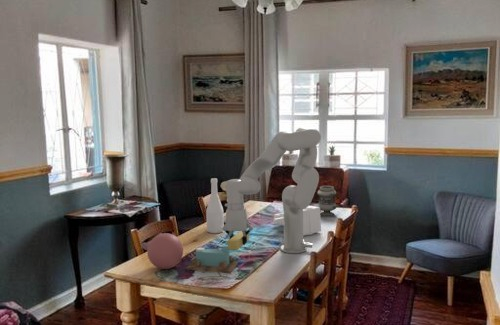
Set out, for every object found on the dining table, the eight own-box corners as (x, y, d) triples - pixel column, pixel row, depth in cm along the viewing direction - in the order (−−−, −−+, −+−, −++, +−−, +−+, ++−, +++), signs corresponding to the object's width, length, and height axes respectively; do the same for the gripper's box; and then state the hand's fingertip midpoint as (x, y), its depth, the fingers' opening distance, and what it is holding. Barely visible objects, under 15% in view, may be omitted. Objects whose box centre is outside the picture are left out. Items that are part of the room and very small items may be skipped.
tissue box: (295, 224, 271) (329, 231, 249) (262, 231, 257) (295, 239, 234) (294, 200, 270) (328, 204, 248) (261, 206, 256) (293, 211, 233)
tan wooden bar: (248, 240, 215) (248, 232, 215) (236, 250, 203) (236, 241, 202) (240, 239, 217) (239, 231, 217) (227, 249, 204) (227, 241, 204)
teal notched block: (229, 263, 199) (229, 245, 198) (226, 267, 195) (226, 248, 194) (199, 261, 202) (199, 243, 201) (196, 264, 198) (195, 246, 197)
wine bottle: (216, 234, 245) (214, 180, 241) (203, 231, 251) (201, 179, 247) (227, 230, 253) (226, 178, 249) (214, 228, 259) (213, 176, 254)
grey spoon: (244, 221, 272) (243, 180, 268) (233, 225, 262) (232, 183, 259) (226, 218, 279) (225, 179, 275) (215, 223, 269) (214, 181, 266)
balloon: (153, 258, 209) (151, 226, 207) (190, 264, 202) (189, 231, 199) (132, 270, 196) (130, 235, 193) (171, 276, 188) (169, 241, 185)
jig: (238, 263, 202) (237, 255, 202) (231, 273, 190) (230, 265, 190) (195, 260, 206) (195, 252, 206) (186, 269, 195) (186, 262, 194)
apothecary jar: (317, 212, 292) (317, 184, 289) (336, 212, 290) (336, 185, 288) (317, 216, 280) (317, 188, 278) (337, 217, 278) (337, 188, 276)
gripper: (215, 208, 206) (218, 246, 208) (252, 208, 202) (254, 246, 204) (220, 204, 213) (223, 241, 216) (255, 203, 209) (258, 241, 212)
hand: (238, 243), depth 210 cm, fingers closed on tan wooden bar, 5 cm apart
